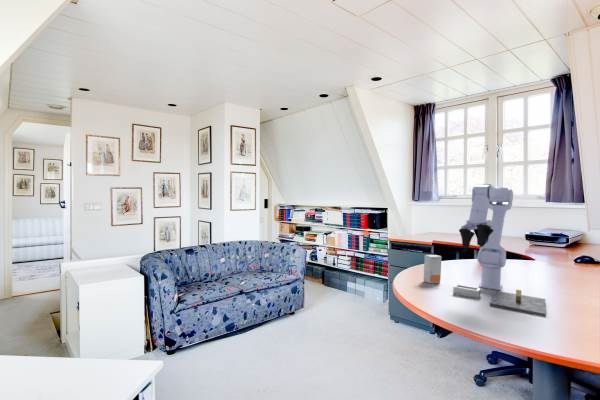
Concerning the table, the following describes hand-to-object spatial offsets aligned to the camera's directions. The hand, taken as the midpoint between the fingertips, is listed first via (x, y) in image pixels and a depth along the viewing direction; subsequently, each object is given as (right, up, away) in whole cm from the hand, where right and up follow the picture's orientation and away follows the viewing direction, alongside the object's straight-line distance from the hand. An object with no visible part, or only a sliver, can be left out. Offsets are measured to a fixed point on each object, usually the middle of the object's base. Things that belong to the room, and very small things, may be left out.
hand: (472, 246), depth 124 cm
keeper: (+16, -21, -2) cm, 26 cm away
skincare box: (-5, -20, +25) cm, 33 cm away
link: (+1, -20, +7) cm, 21 cm away
